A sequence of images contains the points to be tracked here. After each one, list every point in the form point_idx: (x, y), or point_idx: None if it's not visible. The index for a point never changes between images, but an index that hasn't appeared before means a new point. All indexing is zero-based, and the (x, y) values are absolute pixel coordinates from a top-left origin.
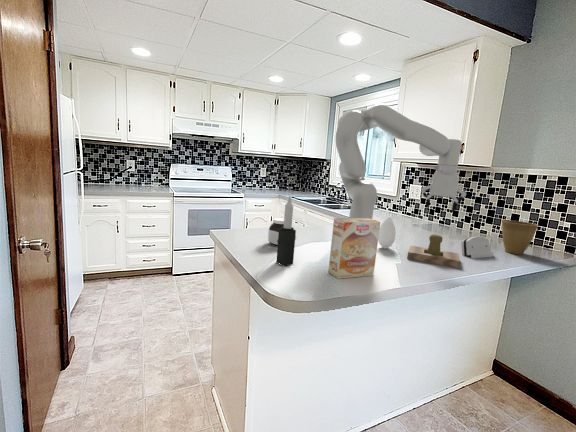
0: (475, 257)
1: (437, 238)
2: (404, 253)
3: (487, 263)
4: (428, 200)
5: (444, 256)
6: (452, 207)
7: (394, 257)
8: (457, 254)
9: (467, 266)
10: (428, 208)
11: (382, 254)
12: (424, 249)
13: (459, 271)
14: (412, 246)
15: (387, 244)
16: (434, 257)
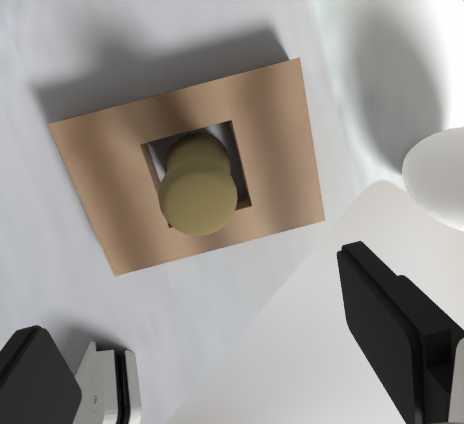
0: (83, 357)
1: (178, 166)
2: (324, 152)
3: (21, 316)
4: (433, 316)
5: (136, 147)
6: (28, 393)
7: (344, 22)
8: (109, 250)
9: (52, 190)
10: (341, 251)
11: (406, 23)
12: (251, 200)
13: (40, 61)
14: (312, 205)
15: (424, 139)
16: (169, 92)
